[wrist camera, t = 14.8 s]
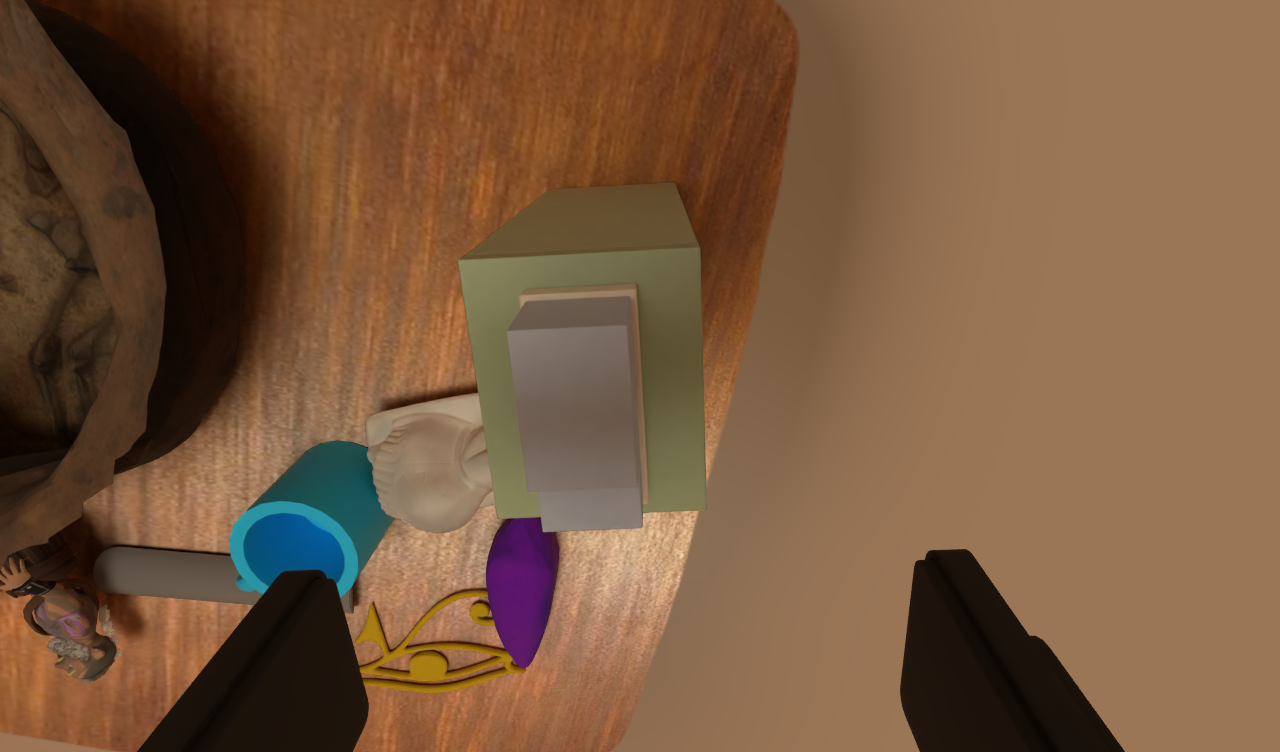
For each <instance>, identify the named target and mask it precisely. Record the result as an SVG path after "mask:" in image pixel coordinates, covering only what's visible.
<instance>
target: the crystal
mask: <svg viewBox="0 0 1280 752" xmlns="http://www.w3.org/2000/svg"><path fill="white" fill-rule="evenodd" d="M558 563H559V547H558V543H557V540H556V537H555V534H554V532H543V531H542V523H541V517H532V518H509V519H507V520H506V521H505V522H504V523H503V524H502V526H501V527H500V528H499V529H498V531H497V532H496V534H495V537H494V540H493V543H492V546H491V549H490V552H489V555H488V561H487V567H486V585H487V594H488V600H489V604H490V608H491V612H492V616H493V619H494V623H495V627H496V629H497V632H498V634H499V637H500V639H501V641H502V643H503V645H504V647H505V649H506V651H507V652H508V653H509V655H510V656H511V657H512V659H513V660H514V661H515V662H516V664H517V665H518V666H519V667H521V668H526V667H528V666H529V665H530V664H531V662H532V661H533V659H534V657H535V655H536V652H537V650H538V648H539V646H540V643H541V640H542V638H543V635H544V632H545V629H546V625H547V622H548V619H549V615H550V610H551V605H552V600H553V594H554V589H555V583H556V578H557V571H558Z"/></svg>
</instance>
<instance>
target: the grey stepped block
mask: <svg viewBox="0 0 1280 752" xmlns="http://www.w3.org/2000/svg"><path fill="white" fill-rule="evenodd" d="M519 302H520V311H519V313H518V314H517V316H516V317H515V319H514V320H513V322H512V323H511V325H510V326H509V328H508V330H507V331H506V333H507V341H508V348H509V356H510V363H511V371H512V378H513V386H514V393H515V401H516V408H517V416H518V423H519V431H520V438H521V446H522V453H523V461H524V468H525V476H526V483H527V491H528V492H538V499H539V507H540V515H541V523H542V531H543V532H560V531H585V530H609V529H633V528H642V527H643V504H648V503H649V486H648V469H647V452H646V435H645V418H644V401H643V384H642V367H641V350H640V333H639V316H638V299H637V285H636V284H635V283H629V284H610V285H591V286H572V287H553V288H534V289H524V290H523V291H522V292H521V294H520V295H519Z"/></svg>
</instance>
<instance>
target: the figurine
mask: <svg viewBox="0 0 1280 752" xmlns="http://www.w3.org/2000/svg"><path fill="white" fill-rule="evenodd" d="M365 428H366V437H367V444H368V452H367V457H368V460H369V461H370V462H371V463H372V465H373V471H372V475H373V483H374V485H375V486H376V493H377V494H378V495H379V496H378V501H379V502H380V503H381V509H382V510H384V511H385V513H386V514H387V515H390V516H392V517H393V518H400V520H401V521H403V522H404V523H410V524H411V525H412V526H414V527H415V528H417V529H419V530H422V531H426V532H432V533H446V532H450V531H454V530H456V529H459V528H461V527H463V526H464V525H465V524H467V523H468V521H469V520H470V519H471V518H472V516H473V515H474V514H475V512H476V511H477V509H478V508H482V507H487V506H492V505H495V499H494V492H493V486H492V479H491V473H490V466H489V460H488V453H487V447H486V440H485V434H484V428H483V421H482V415H481V408H480V402H479V395H478V393H471V394H465V395H459V396H453V397H447V398H442V399H437V400H432V401H427V402H422V403H417V404H413V405H409V406H404V407H400V408H396V409H391V410H387V411H382V412H378V413H375V414H372V415H370V416H369V417H368V418H367V419H366V422H365Z"/></svg>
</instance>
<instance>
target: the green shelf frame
mask: <svg viewBox="0 0 1280 752" xmlns="http://www.w3.org/2000/svg"><path fill="white" fill-rule="evenodd" d="M458 266H459V272H460V278H461V285H462V291H463V298H464V304H465V311H466V317H467V324H468V330H469V337H470V343H471V350H472V356H473V363H474V369H475V376H476V382H477V389H478V395H479V402H480V408H481V415H482V421H483V428H484V434H485V440H486V447H487V453H488V460H489V466H490V473H491V479H492V486H493V492H494V499H495V505H496V512H497V518H498V519H508V518H532V517H541V515H540V507H539V499H538V492H528V491H527V483H526V476H525V468H524V461H523V453H522V446H521V438H520V431H519V423H518V416H517V408H516V401H515V393H514V386H513V378H512V371H511V363H510V356H509V348H508V341H507V333H506V331H507V330H508V328H509V326H510V325H511V323H512V322H513V320H514V319H515V317H516V316H517V314H518V313H519V311H520V302H519V295H520V294H521V292H522V291H523V290H524V289H534V288H553V287H572V286H591V285H610V284H629V283H635V284H636V285H637V299H638V316H639V333H640V350H641V367H642V384H643V401H644V418H645V435H646V452H647V469H648V486H649V503H648V504H643V513H650V512H674V511H698V510H706V508H707V506H706V463H705V421H704V379H703V337H702V295H701V253H700V246H699V244H698V242H697V239H696V237H695V234H694V231H693V229H692V226H691V224H690V221H689V218H688V216H687V213H686V210H685V208H684V205H683V203H682V200H681V197H680V195H679V192H678V189H677V187H676V184H675V182H669V183H651V184H633V185H616V186H598V187H581V188H563V189H549V190H548V191H547V192H545V193H544V194H543V195H541V196H540V197H539V198H538V199H536V200H535V201H534V202H533V203H531V204H530V205H529V206H527V207H526V208H525V209H524V210H522V211H521V212H520V213H518V214H517V215H516V216H515V217H513V218H512V219H511V220H510V221H508V222H507V223H506V224H504V225H503V226H502V227H501V228H499V229H498V230H497V231H496V232H494V233H493V234H492V235H490V236H489V237H488V238H487V239H485V240H484V241H483V242H482V243H480V244H479V245H478V246H476V247H475V248H474V249H473V250H471V251H470V252H469V253H467V254H466V255H465V256H463V257H462V258H460V259H459V260H458Z"/></svg>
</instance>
